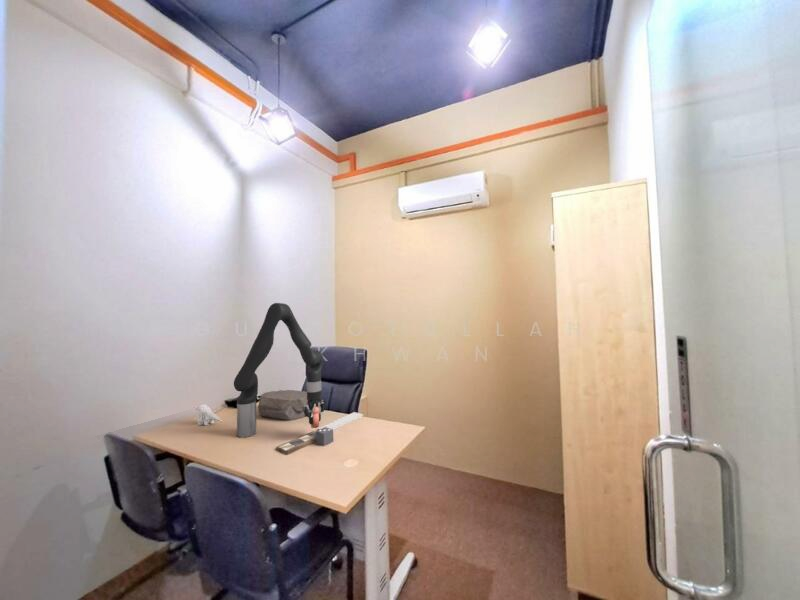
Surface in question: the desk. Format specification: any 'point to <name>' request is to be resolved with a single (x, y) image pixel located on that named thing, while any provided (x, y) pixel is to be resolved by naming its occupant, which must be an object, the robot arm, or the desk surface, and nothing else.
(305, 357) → the robot arm
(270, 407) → the stone
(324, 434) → the die
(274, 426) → the desk surface
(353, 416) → the baseboard
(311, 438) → the game strip
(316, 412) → the pawn
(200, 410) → the white dinosaur figurine
